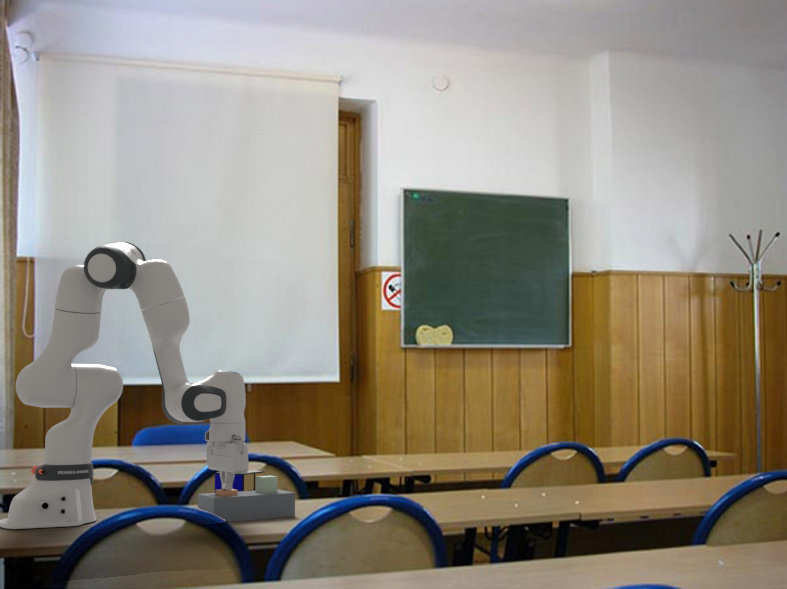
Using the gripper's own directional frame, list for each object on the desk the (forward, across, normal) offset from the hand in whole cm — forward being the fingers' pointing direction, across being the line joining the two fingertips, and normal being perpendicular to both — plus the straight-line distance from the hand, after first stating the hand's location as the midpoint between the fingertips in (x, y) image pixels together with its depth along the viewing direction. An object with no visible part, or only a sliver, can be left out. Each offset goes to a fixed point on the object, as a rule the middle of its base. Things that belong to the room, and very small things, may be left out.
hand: (227, 489), depth 235 cm
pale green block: (+3, +1, -11) cm, 12 cm away
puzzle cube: (+7, +20, -11) cm, 24 cm away
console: (+7, +1, -6) cm, 9 cm away
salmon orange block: (+6, +1, 0) cm, 6 cm away
